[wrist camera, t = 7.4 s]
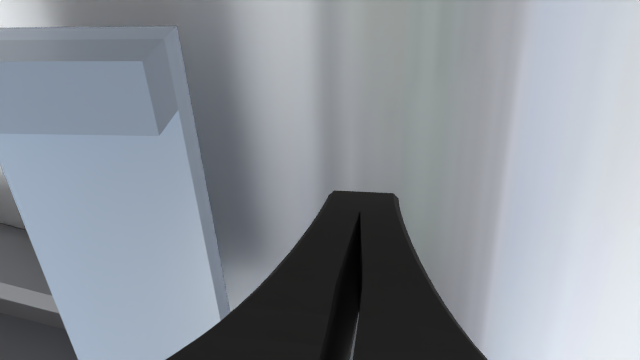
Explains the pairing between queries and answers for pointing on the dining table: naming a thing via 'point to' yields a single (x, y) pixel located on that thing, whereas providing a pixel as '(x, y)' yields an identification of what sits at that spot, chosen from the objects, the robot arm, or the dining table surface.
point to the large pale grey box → (28, 304)
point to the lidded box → (111, 185)
